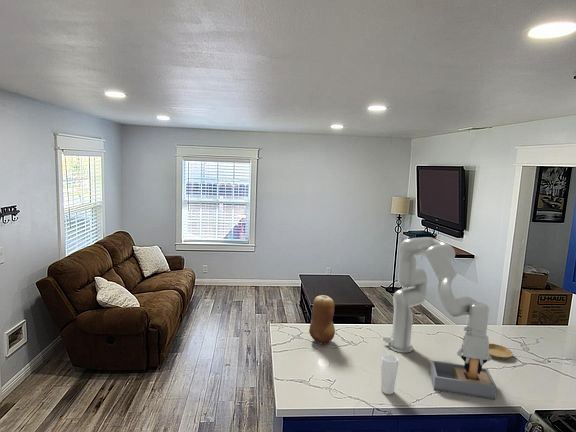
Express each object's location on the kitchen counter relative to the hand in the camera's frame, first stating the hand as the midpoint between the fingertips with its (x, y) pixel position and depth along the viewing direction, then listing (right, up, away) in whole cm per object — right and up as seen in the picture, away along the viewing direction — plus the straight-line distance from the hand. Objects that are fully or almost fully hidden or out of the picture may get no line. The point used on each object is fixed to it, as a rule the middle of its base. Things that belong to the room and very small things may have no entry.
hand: (472, 371), depth 172 cm
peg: (0, -3, 0) cm, 3 cm away
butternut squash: (-63, 0, +39) cm, 74 cm away
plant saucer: (+27, -5, +33) cm, 43 cm away
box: (-4, -7, +2) cm, 9 cm away
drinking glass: (-38, -7, -5) cm, 39 cm away
